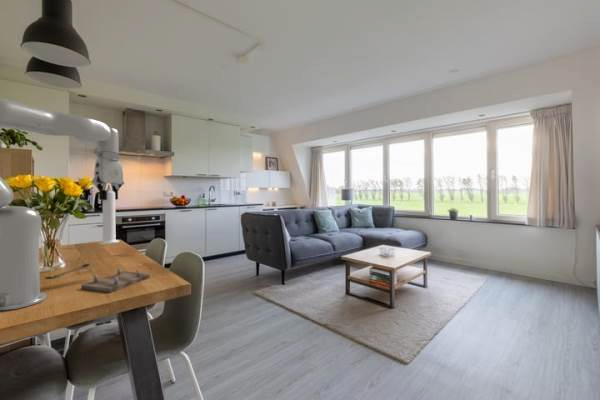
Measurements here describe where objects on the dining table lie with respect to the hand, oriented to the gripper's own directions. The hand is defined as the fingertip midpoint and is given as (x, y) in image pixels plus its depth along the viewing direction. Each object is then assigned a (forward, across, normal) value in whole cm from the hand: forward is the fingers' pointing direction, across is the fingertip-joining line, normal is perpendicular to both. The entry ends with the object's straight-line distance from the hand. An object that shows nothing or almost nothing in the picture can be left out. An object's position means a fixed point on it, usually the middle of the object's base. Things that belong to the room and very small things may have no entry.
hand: (108, 199), depth 118 cm
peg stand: (+33, -7, -12) cm, 36 cm away
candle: (+19, 0, 0) cm, 19 cm away
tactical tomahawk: (+34, 0, +22) cm, 40 cm away
